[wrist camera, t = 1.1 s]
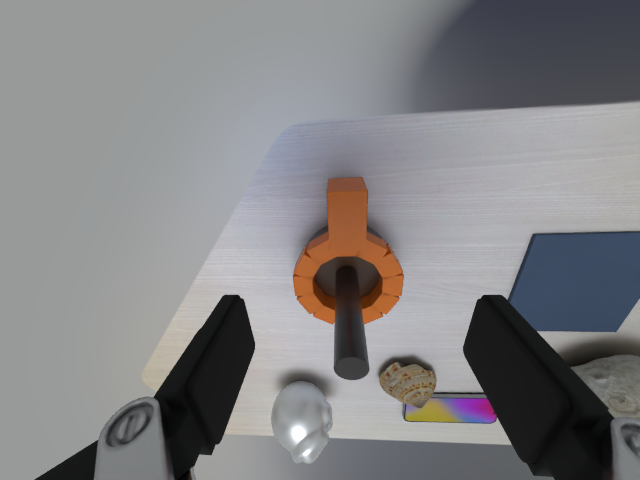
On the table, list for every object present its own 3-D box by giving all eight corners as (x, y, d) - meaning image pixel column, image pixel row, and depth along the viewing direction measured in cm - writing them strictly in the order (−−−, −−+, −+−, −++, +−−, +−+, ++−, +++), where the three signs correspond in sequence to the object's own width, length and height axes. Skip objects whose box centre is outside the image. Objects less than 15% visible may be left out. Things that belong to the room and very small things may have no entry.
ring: (284, 180, 22) (273, 194, 18) (408, 175, 21) (425, 188, 17) (301, 312, 29) (295, 343, 25) (394, 313, 28) (403, 344, 24)
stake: (300, 223, 27) (268, 313, 14) (391, 220, 26) (440, 314, 14) (308, 293, 31) (288, 408, 19) (385, 293, 30) (418, 413, 18)
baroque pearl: (313, 408, 43) (306, 483, 34) (269, 386, 41) (250, 460, 32) (344, 385, 40) (346, 462, 31) (298, 360, 38) (285, 435, 29)
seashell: (413, 359, 32) (452, 409, 32) (412, 337, 38) (445, 379, 37) (366, 382, 35) (400, 428, 35) (371, 358, 41) (400, 398, 40)
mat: (533, 233, 26) (535, 235, 25) (681, 230, 24) (686, 232, 24) (497, 328, 32) (499, 330, 31) (613, 329, 31) (616, 332, 30)
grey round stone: (511, 355, 34) (573, 440, 25) (670, 319, 29) (816, 407, 20) (526, 421, 41) (579, 506, 32) (657, 400, 36) (762, 492, 27)
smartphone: (405, 396, 39) (505, 398, 37) (404, 392, 39) (502, 393, 38) (403, 421, 42) (494, 423, 40) (402, 417, 43) (492, 419, 41)
